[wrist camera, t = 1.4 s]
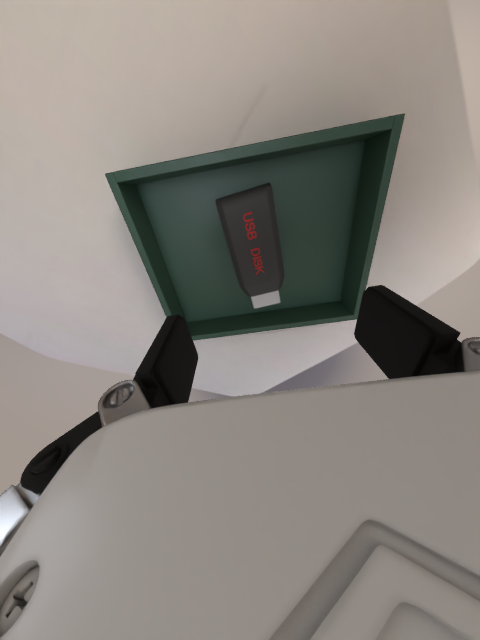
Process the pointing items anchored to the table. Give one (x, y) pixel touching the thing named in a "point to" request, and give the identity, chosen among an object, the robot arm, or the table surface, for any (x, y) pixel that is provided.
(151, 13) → the table surface
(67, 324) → the table surface
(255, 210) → the usb drive
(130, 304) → the table surface
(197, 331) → the bin
